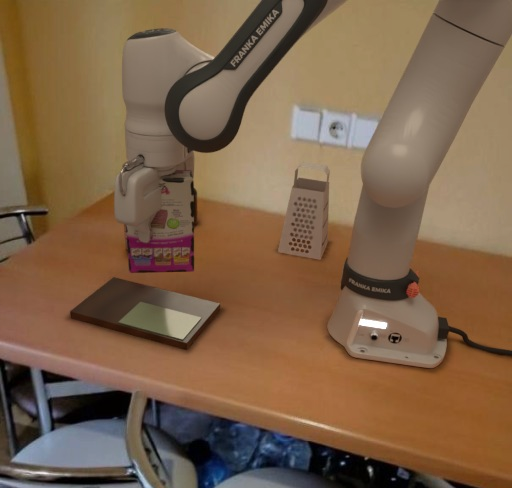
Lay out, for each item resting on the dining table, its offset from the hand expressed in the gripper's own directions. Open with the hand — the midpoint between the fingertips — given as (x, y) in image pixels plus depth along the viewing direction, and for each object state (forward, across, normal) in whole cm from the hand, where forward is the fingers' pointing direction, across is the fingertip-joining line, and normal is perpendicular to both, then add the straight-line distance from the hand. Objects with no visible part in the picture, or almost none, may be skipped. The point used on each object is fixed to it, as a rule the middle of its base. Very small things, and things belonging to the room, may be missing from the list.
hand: (157, 231), depth 94 cm
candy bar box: (+7, 0, 0) cm, 7 cm away
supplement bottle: (+20, +46, +18) cm, 53 cm away
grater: (+19, +46, -14) cm, 52 cm away
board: (+19, +3, +4) cm, 20 cm away
